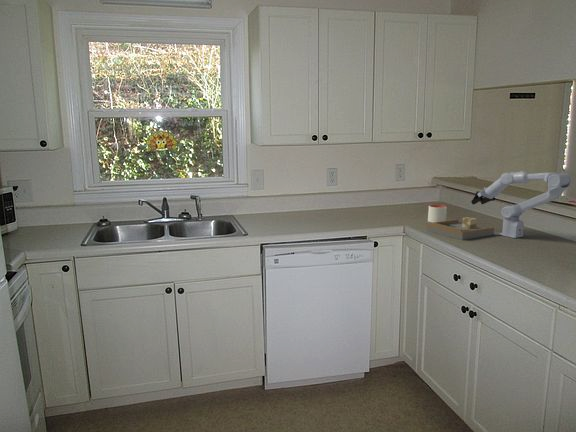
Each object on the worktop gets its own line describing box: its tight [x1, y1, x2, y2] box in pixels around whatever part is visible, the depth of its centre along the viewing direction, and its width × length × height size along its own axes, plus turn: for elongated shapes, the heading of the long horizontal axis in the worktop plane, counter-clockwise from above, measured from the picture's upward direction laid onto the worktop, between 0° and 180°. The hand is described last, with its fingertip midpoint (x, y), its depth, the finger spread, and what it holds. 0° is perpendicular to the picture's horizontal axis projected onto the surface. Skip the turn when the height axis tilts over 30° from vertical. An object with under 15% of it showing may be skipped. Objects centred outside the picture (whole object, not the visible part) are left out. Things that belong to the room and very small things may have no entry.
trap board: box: [425, 218, 495, 241], centre depth 255 cm, size 24×24×5 cm
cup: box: [427, 204, 448, 223], centre depth 278 cm, size 10×10×10 cm
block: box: [461, 216, 478, 229], centre depth 258 cm, size 5×5×5 cm
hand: (476, 202), depth 263 cm, fingers open, 7 cm apart
